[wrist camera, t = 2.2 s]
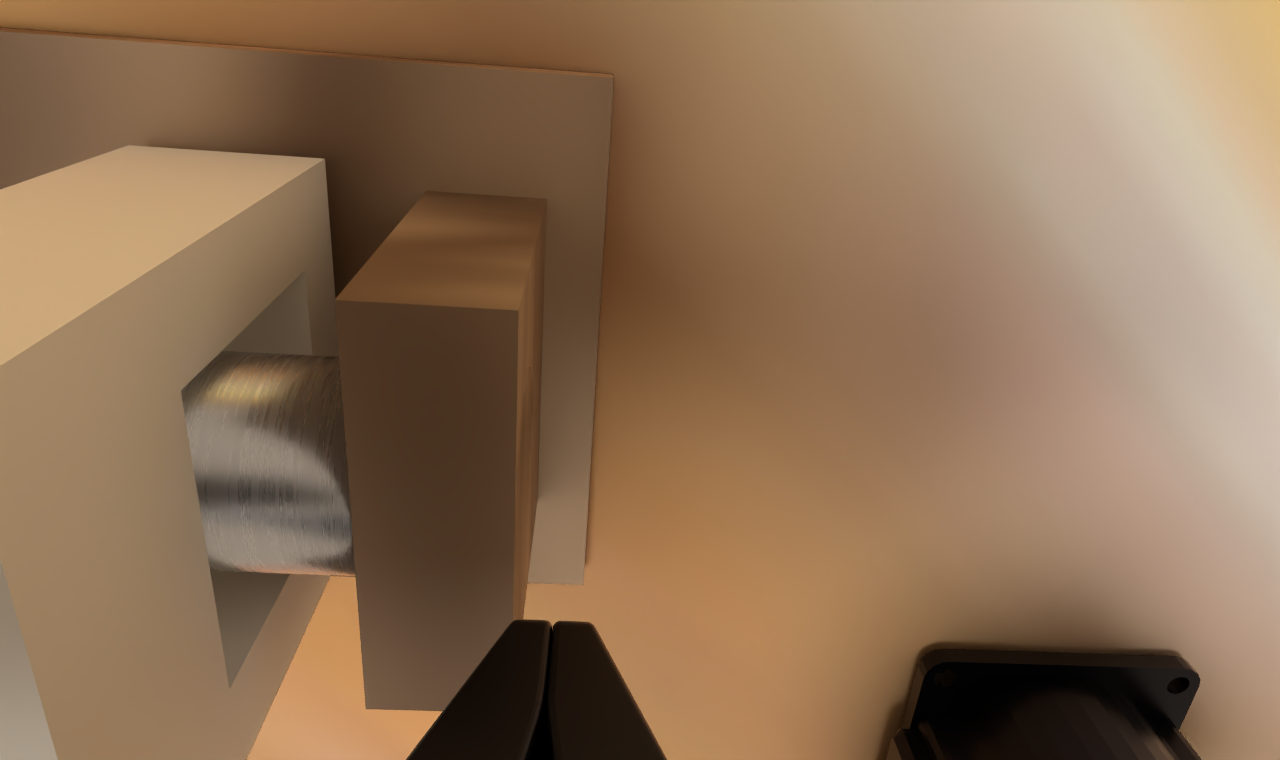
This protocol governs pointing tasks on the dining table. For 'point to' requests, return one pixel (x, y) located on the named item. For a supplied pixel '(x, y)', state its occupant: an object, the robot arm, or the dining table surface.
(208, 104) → the wall mounted rod holder
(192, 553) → the collar
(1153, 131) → the dining table surface
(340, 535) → the pipe
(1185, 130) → the dining table surface
